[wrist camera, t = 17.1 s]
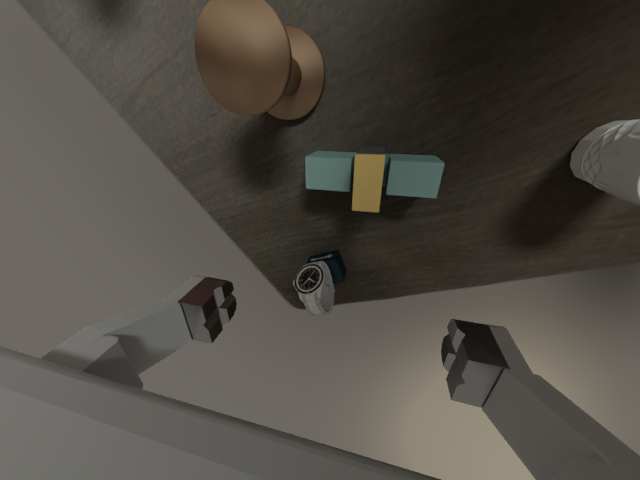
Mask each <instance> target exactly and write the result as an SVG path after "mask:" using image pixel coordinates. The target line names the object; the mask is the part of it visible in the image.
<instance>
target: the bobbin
mask: <svg viewBox="0 0 640 480" xmlns="http://www.w3.org/2000/svg"><path fill="white" fill-rule="evenodd" d="M195 55H196V61H197V65H198V69H199V72H200V75H201V78H202V80H203V82H204V84H205V86H206V88H207V89H208V91H209V92H210V94H211V95H212V96H213V98H214V99H215V100H216V101H217V102H218V103H219V104H220V105H222V106H223V107H224V108H226V109H227V110H229V111H231V112H234V113H236V114H240V115H259V114H263V113H265V112H268V113H269V114H271V115H272V116H274V117H276V118H279V119H283V120H294V119H299V118H301V117H304V116H305V115H307V114H308V113H310V112H311V111H312V110H313V109H314V107H315V106H316V105H317V103H318V102H319V100H320V98H321V95H322V92H323V89H324V84H325V68H324V62H323V58H322V56H321V53H320V51H319V49H318V47H317V46H316V44H315V43H314V41H313V40H312V39H311V38H310V37H309V36H308V35H307V34H306V33H304V32H303V31H301V30H300V29H298V28H295V27H292V26H284V25H283V23H282V21H281V19H280V18H279V16H278V15H277V13H276V12H275V11H274V10H273V9H272V8H271V7H270V6H269V5H268V4H267V3H266V2H265V1H264V0H210V1H209V2H208V3H207V5H206V6H205V7H204V9H203V11H202V13H201V15H200V18H199V20H198V24H197V28H196V34H195Z"/></svg>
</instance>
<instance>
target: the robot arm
mask: <svg viewBox="0 0 640 480" xmlns="http://www.w3.org/2000/svg"><path fill="white" fill-rule="evenodd" d="M233 290H234V288H233V284H232V282H230V281H226V280H221V279H216V278H210V277H204V276H200V275H197V276H193V277H192V278H191V279H190V280H188V281H187V282H186V283H185V284H183V285H182V286H181V287H180V288H178V289H177V290H176V291H175V292H174V293H172V294H171V295H170V296H169V297H167V298H166V299H165V300H162V299H160V300H158V301H155V302H153V303H150V304H147V305H144V306H142V307H139V308H136V309H134V310H131V311H128V312H125V313H123V314H120V315H117V316H115V317H112V318H109V319H107V320H104V321H101V322H98V323H96V324H93V325H90V326H88V327H85V328H84V329H82V330H81V331H79V332H78V333H76V334H75V335H74V336H72V337H71V338H69V339H68V340H66V341H65V342H63V343H62V344H60V345H59V346H58V347H56V348H55V349H53V350H52V351H50V352H49V353H47V354H46V355H45V356H43V357H42V358H37V357H33V356H30V355H26V354H23V353H20V352H17V351H14V350H10V349H7V348H3V347H0V480H441V479H437V478H434V477H431V476H427V475H424V474H421V473H417V472H414V471H411V470H408V469H404V468H401V467H398V466H394V465H391V464H388V463H385V462H381V461H378V460H375V459H371V458H368V457H364V456H361V455H358V454H355V453H351V452H348V451H345V450H342V449H338V448H335V447H332V446H328V445H325V444H321V443H318V442H315V441H312V440H309V439H305V438H302V437H298V436H295V435H292V434H289V433H285V432H282V431H279V430H275V429H272V428H269V427H266V426H262V425H259V424H256V423H252V422H249V421H246V420H242V419H239V418H236V417H232V416H229V415H226V414H222V413H219V412H216V411H212V410H209V409H206V408H202V407H199V406H196V405H192V404H189V403H186V402H182V401H179V400H176V399H172V398H169V397H166V396H163V395H159V394H156V393H153V392H149V391H146V390H143V389H142V388H143V383H142V381H141V379H140V377H139V374H140V373H142V372H143V371H145V370H147V369H148V368H150V367H151V366H153V365H155V364H156V363H158V362H159V361H161V360H162V359H164V358H166V357H167V356H169V355H170V354H172V353H174V352H175V351H176V350H178V349H180V348H182V347H183V346H185V345H186V344H188V343H189V342H191V341H192V340H197V341H203V342H207V343H213V342H214V340H215V339H216V338H217V337H218V335H219V334H220V333H221V331H222V330H223V324H225V323H227V322H229V321H230V320H231V318H232V317H233V315H234V313H235V310H236V298H235V297H234V296H233V295H232V292H233ZM447 328H448V331H449V334H448V335H447V336H445V337H444V339H443V342H442V350H441V354H442V362H443V366H444V367H445V368H446V370H447V371H448V372H449V374H448V376H447V378H446V380H447V383H448V388H449V392H450V396H451V400H454V401H459V402H462V403H466V404H469V405H473V406H477V407H481V408H482V410H483V411H484V412H485V414H486V415H487V416H488V418H489V419H490V420H491V422H492V423H493V424H494V425H495V427H496V428H497V429H498V431H499V432H500V433H501V435H502V436H503V437H504V439H505V440H506V441H507V442H508V444H509V445H510V446H511V448H512V449H513V450H514V452H515V453H516V454H517V455H518V457H519V458H520V459H521V461H522V462H523V463H524V465H525V466H526V467H527V469H528V470H529V471H530V473H531V474H532V475H533V476H534V478H535V479H536V480H640V456H639V455H638V454H637V453H635V452H634V451H633V450H631V449H630V448H629V447H628V446H627V445H625V444H624V443H623V442H622V441H620V440H619V439H618V438H617V437H615V436H614V435H613V434H612V433H610V432H609V431H608V430H607V429H605V428H604V427H603V426H602V425H600V424H599V423H598V422H597V421H595V420H594V419H593V418H592V417H591V416H589V415H588V414H587V413H585V412H584V411H583V410H582V409H581V408H579V407H578V406H577V405H575V404H574V403H573V402H572V401H571V400H569V399H568V398H567V397H566V396H564V395H563V394H562V393H561V392H559V391H558V390H557V389H555V388H554V387H553V386H552V385H551V384H549V383H548V382H547V381H546V380H544V379H543V378H542V377H541V376H539V375H535V374H533V373H532V371H531V370H530V368H529V366H528V365H527V363H526V361H525V359H524V358H523V356H522V354H521V352H520V351H519V349H518V348H517V346H516V344H515V342H514V341H513V339H512V338H511V335H510V334H509V332H508V330H507V329H506V328H504V327H501V326H494V325H487V324H486V325H485V324H479V323H474V322H467V321H461V320H455V319H451V321H450V322H449V324H448V327H447Z"/></svg>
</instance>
